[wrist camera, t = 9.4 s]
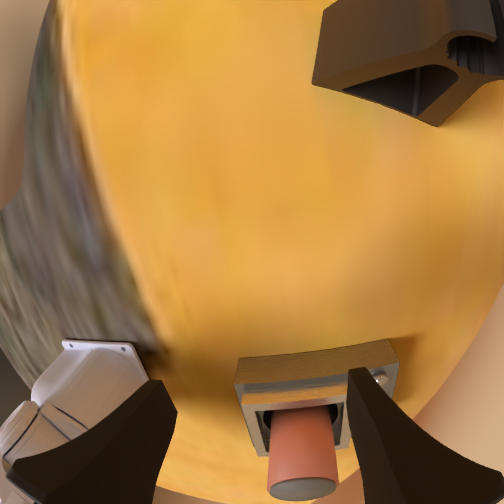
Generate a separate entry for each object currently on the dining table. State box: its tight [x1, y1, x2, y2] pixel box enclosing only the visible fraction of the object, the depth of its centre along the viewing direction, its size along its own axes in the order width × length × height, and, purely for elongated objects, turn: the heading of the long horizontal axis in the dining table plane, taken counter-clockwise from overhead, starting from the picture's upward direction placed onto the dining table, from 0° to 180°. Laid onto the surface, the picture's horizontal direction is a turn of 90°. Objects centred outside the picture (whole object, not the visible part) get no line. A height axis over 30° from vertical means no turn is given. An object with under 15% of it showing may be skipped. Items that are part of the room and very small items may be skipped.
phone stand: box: [312, 0, 504, 127], centre depth 8 cm, size 9×6×12 cm, turn 79°
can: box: [267, 405, 339, 501], centre depth 15 cm, size 5×5×7 cm
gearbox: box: [234, 339, 400, 456], centre depth 19 cm, size 12×9×4 cm
